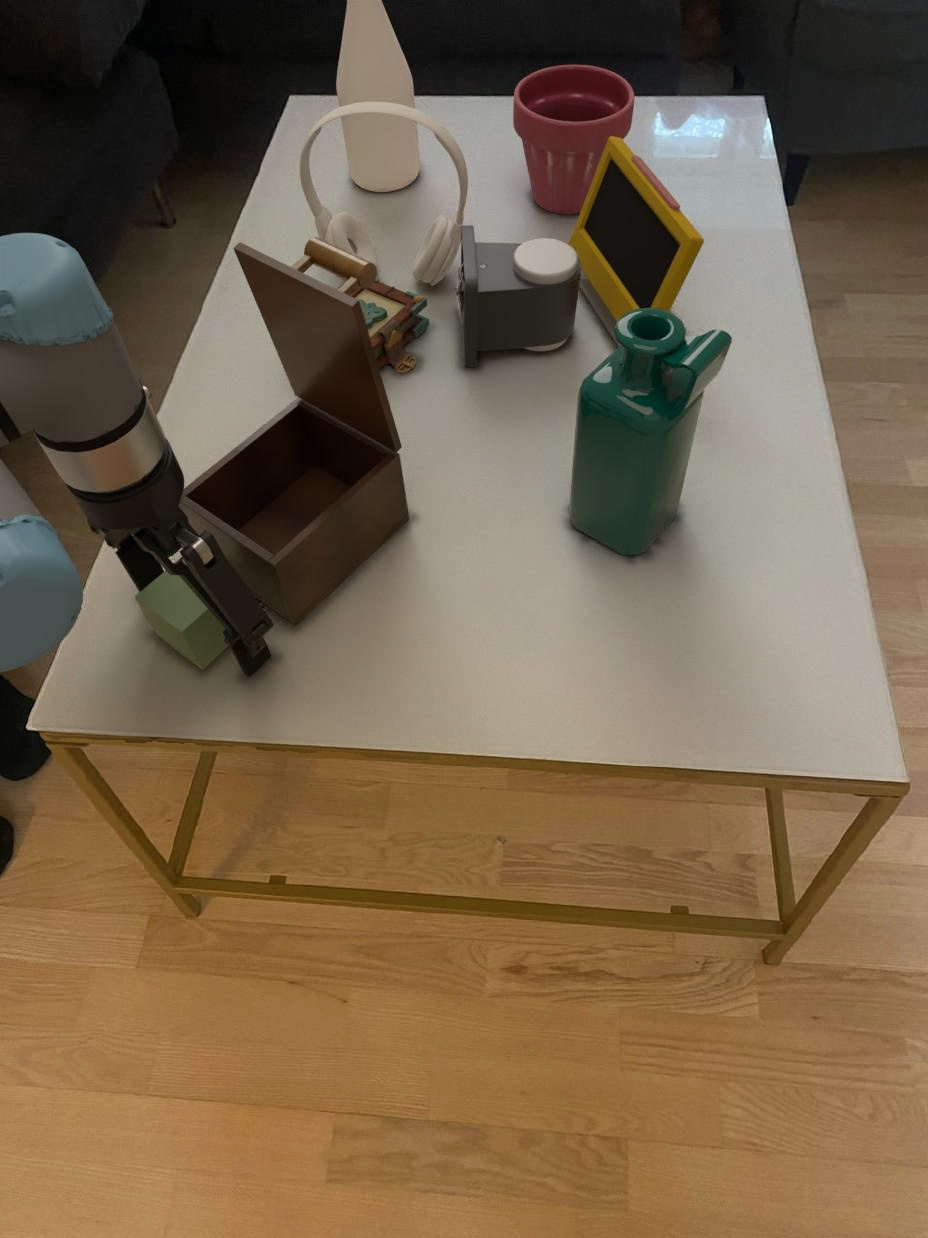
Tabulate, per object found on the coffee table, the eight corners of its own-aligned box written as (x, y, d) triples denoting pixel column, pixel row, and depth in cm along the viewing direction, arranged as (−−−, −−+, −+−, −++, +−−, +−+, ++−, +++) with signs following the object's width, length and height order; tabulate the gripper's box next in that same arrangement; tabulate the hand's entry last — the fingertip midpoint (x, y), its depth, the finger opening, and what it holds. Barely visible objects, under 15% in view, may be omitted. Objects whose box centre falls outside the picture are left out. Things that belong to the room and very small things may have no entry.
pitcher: (560, 522, 85) (571, 331, 67) (610, 470, 89) (634, 274, 71) (647, 572, 82) (685, 384, 64) (696, 515, 85) (746, 321, 67)
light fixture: (577, 368, 98) (589, 281, 89) (457, 371, 98) (456, 284, 89) (567, 306, 105) (577, 218, 96) (453, 308, 104) (453, 221, 95)
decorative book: (257, 383, 99) (246, 346, 95) (357, 296, 107) (351, 259, 102) (351, 428, 94) (344, 391, 90) (449, 335, 102) (446, 297, 98)
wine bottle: (369, 202, 118) (329, -72, 93) (339, 169, 122) (294, -100, 98) (433, 180, 120) (411, -94, 95) (401, 148, 125) (372, -120, 100)
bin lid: (352, 307, 65) (403, 258, 66) (232, 247, 69) (283, 203, 71) (396, 453, 79) (437, 409, 81) (295, 395, 84) (335, 355, 86)
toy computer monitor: (565, 272, 107) (572, 140, 94) (626, 257, 108) (641, 124, 95) (633, 378, 96) (652, 245, 83) (700, 361, 97) (729, 227, 84)
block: (202, 670, 78) (181, 632, 73) (157, 635, 80) (134, 596, 75) (252, 624, 81) (235, 584, 76) (207, 592, 83) (187, 551, 78)
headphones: (467, 299, 105) (458, 126, 89) (315, 292, 107) (278, 122, 91) (475, 262, 109) (468, 90, 93) (329, 256, 111) (296, 87, 95)
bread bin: (296, 626, 80) (274, 566, 73) (202, 560, 85) (172, 497, 78) (409, 518, 87) (399, 453, 79) (316, 462, 92) (298, 396, 84)
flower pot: (644, 184, 117) (657, 80, 106) (587, 239, 111) (595, 134, 100) (551, 154, 122) (554, 52, 111) (492, 204, 116) (489, 102, 105)
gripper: (278, 503, 59) (335, 668, 77) (51, 358, 69) (147, 534, 86) (193, 577, 56) (272, 731, 74) (-32, 415, 66) (85, 585, 83)
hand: (205, 625), depth 80 cm, fingers open, 13 cm apart
